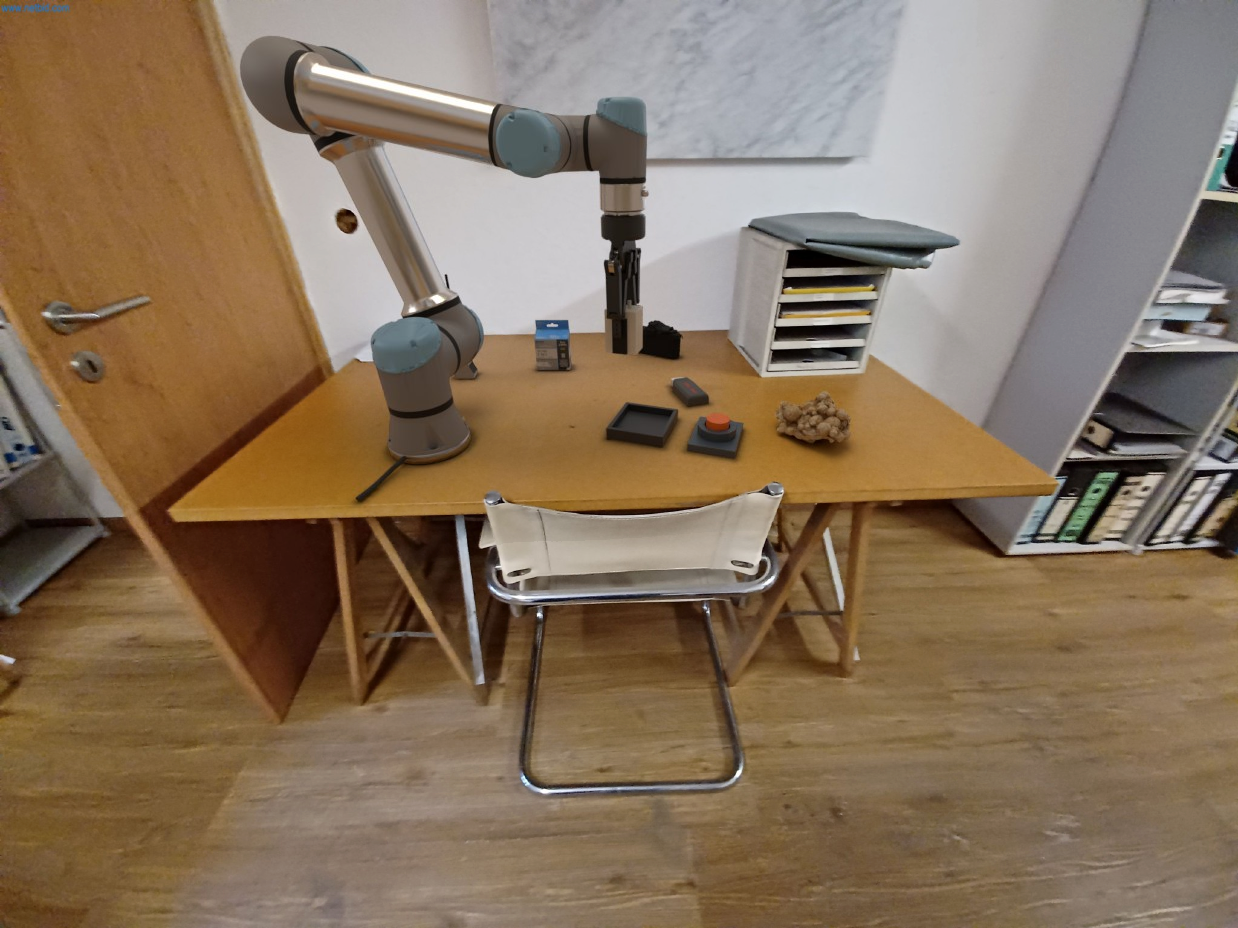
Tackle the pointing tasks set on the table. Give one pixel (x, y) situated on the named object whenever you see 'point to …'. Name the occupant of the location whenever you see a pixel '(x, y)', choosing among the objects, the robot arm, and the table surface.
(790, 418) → the mineral formation
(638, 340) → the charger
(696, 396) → the usb drive
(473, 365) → the vintage mobile phone
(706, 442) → the switch block
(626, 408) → the cradle
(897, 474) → the table surface
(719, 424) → the button
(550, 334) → the label tape box
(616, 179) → the robot arm
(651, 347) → the film camera
